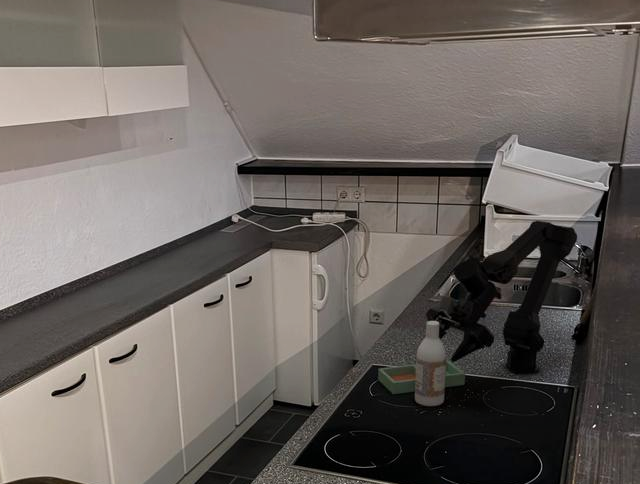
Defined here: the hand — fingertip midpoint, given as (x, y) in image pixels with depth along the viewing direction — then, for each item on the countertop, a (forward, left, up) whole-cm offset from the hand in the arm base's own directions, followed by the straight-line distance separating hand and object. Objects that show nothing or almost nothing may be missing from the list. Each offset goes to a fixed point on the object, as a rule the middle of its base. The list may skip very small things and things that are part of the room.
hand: (438, 355), depth 181 cm
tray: (+1, -11, -11) cm, 16 cm away
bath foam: (+2, +1, -12) cm, 12 cm away
